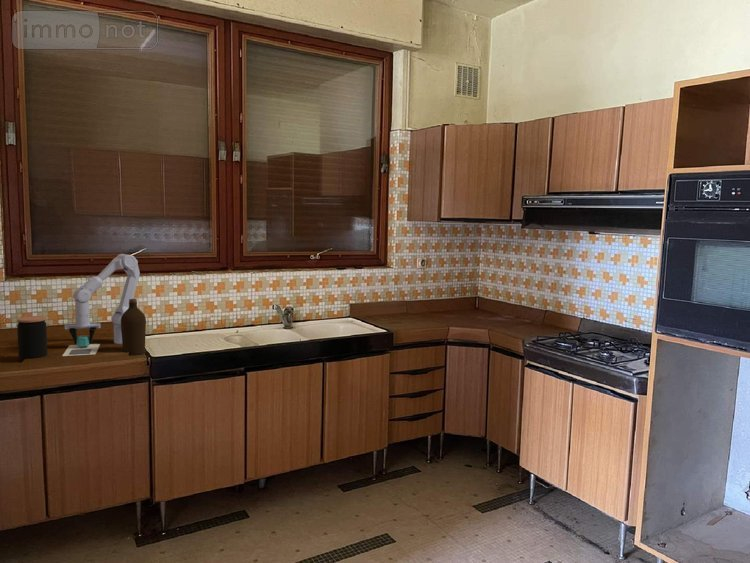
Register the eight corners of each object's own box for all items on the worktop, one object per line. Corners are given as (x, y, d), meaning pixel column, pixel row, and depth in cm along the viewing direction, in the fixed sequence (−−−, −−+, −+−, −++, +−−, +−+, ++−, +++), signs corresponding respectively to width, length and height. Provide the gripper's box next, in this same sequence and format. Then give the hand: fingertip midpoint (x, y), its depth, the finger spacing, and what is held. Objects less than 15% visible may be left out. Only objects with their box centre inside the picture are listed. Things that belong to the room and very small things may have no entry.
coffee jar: (51, 356, 247) (50, 315, 245) (41, 362, 237) (40, 320, 235) (25, 356, 246) (23, 315, 244) (14, 362, 235) (12, 320, 233)
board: (100, 346, 266) (100, 343, 266) (95, 357, 247) (95, 354, 247) (69, 348, 262) (69, 345, 261) (62, 359, 242) (62, 356, 242)
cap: (90, 343, 262) (90, 335, 261) (89, 346, 257) (88, 337, 257) (77, 344, 260) (77, 335, 260) (76, 346, 255) (76, 338, 255)
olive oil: (133, 356, 250) (132, 301, 247) (116, 354, 254) (114, 299, 251) (151, 352, 259) (150, 298, 256) (134, 349, 263) (133, 296, 261)
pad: (91, 349, 255) (91, 348, 254) (89, 353, 247) (89, 352, 247) (71, 350, 252) (71, 349, 252) (69, 354, 244) (69, 353, 244)
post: (87, 346, 261) (87, 337, 260) (86, 347, 258) (86, 339, 257) (80, 346, 259) (79, 338, 259) (79, 348, 257) (79, 339, 256)
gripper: (100, 313, 263) (101, 341, 265) (65, 314, 258) (66, 342, 260) (99, 315, 257) (100, 344, 258) (63, 316, 252) (64, 346, 253)
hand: (83, 344), depth 258 cm, fingers open, 5 cm apart
